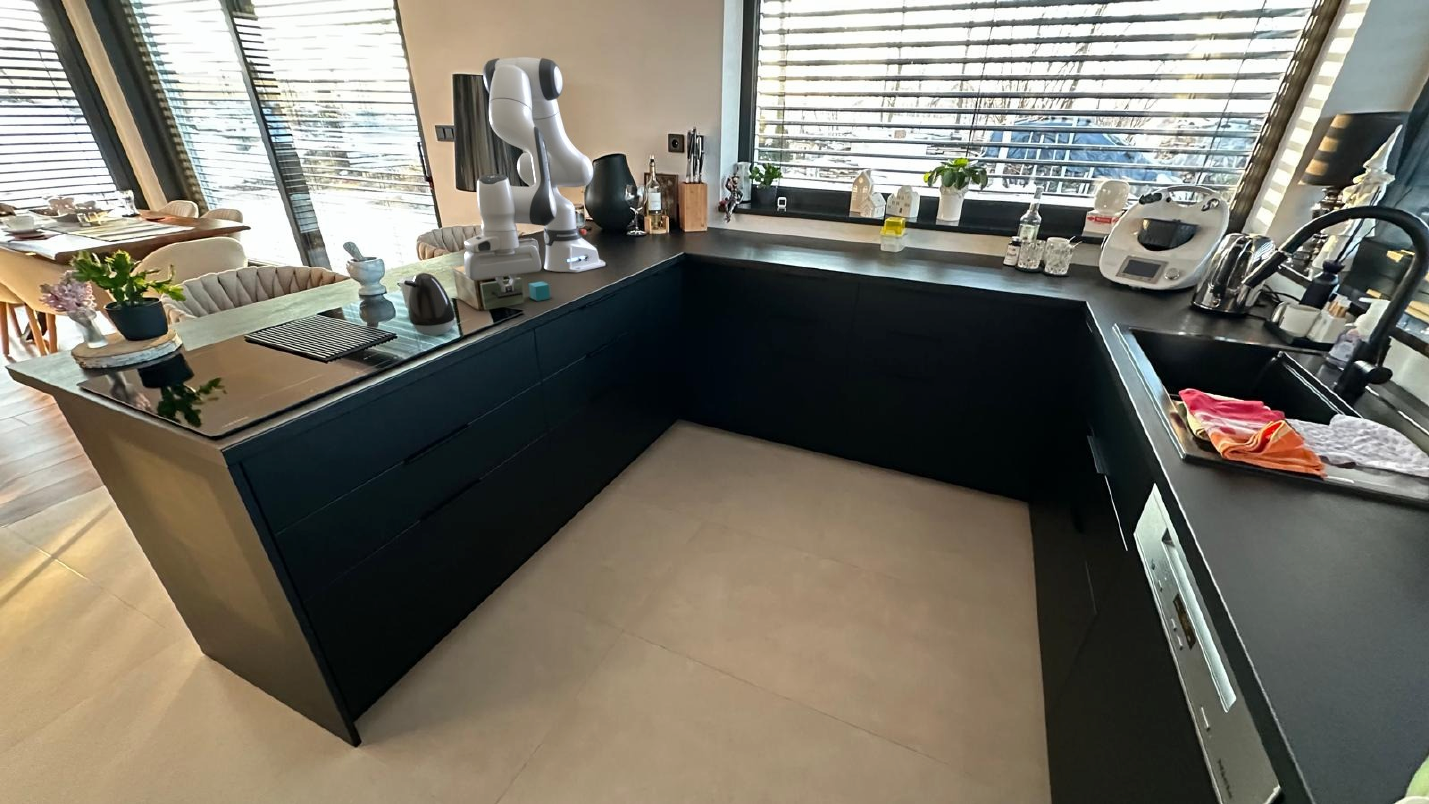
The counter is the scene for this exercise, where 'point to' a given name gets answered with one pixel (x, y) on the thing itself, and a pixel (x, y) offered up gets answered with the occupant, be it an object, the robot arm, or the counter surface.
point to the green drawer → (499, 293)
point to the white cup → (406, 290)
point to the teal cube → (539, 291)
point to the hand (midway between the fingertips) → (507, 291)
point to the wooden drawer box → (467, 288)
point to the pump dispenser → (429, 305)
